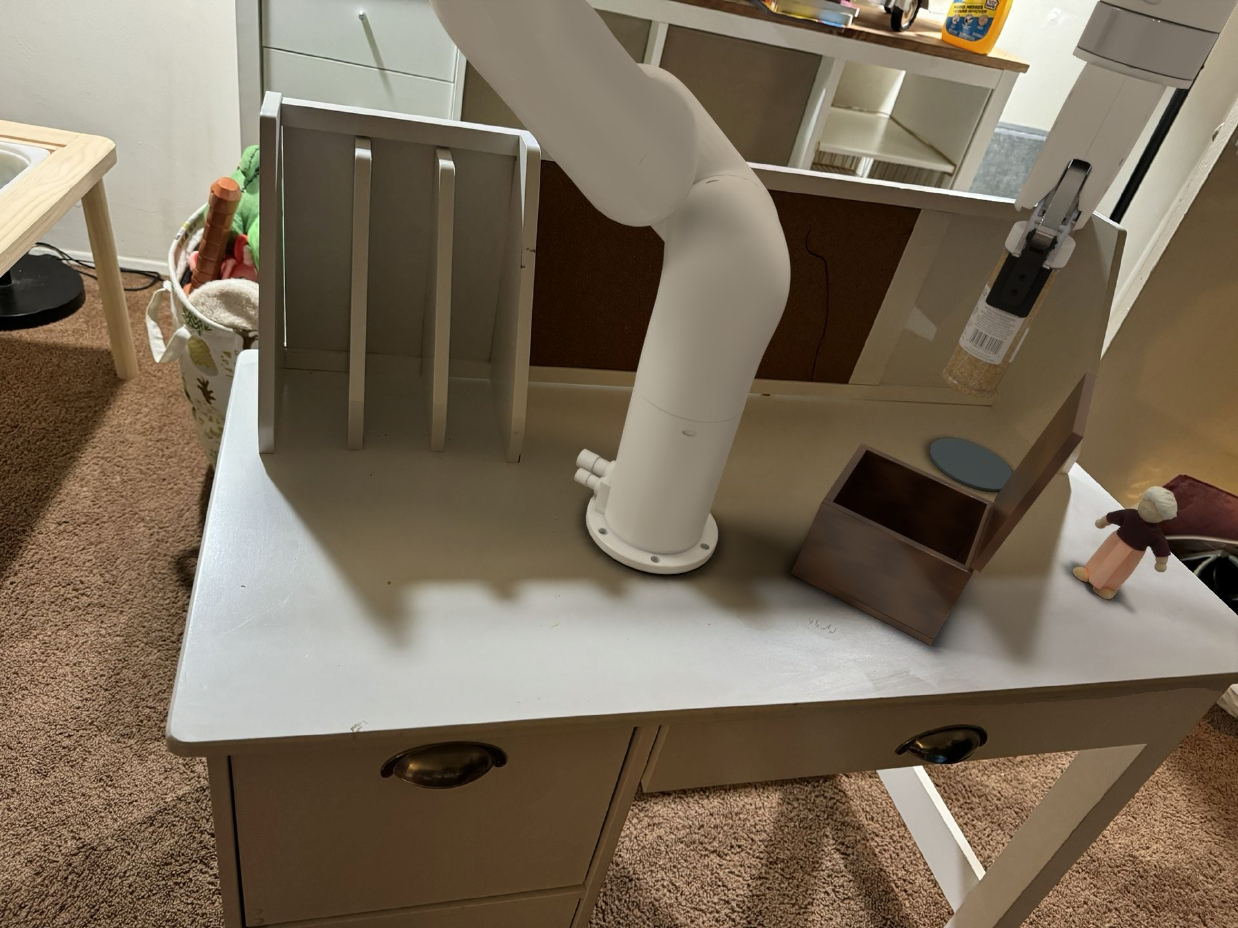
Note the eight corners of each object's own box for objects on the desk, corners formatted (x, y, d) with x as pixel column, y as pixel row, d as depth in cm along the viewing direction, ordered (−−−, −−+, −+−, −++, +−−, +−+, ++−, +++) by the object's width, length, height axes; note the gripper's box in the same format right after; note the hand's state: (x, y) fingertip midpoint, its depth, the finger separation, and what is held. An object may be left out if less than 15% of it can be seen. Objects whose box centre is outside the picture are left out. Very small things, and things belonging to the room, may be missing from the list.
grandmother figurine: (1056, 569, 90) (1121, 473, 83) (1072, 557, 92) (1136, 463, 85) (1127, 618, 86) (1202, 521, 78) (1142, 604, 88) (1216, 508, 81)
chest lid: (1072, 431, 63) (1084, 437, 63) (1086, 370, 72) (1096, 375, 72) (970, 567, 72) (980, 572, 71) (995, 497, 81) (1003, 501, 81)
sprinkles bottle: (1005, 396, 71) (1089, 242, 63) (972, 404, 69) (1056, 245, 61) (961, 367, 74) (1037, 217, 66) (928, 374, 71) (1003, 219, 64)
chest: (790, 573, 81) (821, 501, 76) (831, 510, 91) (861, 442, 85) (930, 645, 77) (972, 574, 72) (957, 571, 86) (997, 503, 81)
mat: (920, 465, 101) (922, 462, 101) (938, 430, 109) (940, 428, 109) (1005, 503, 98) (1006, 500, 98) (1017, 465, 106) (1019, 462, 106)
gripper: (1092, 26, 64) (981, 255, 74) (1071, 38, 51) (941, 313, 62) (1199, 56, 62) (1069, 288, 72) (1205, 77, 49) (1046, 356, 59)
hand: (1011, 297), depth 67 cm, fingers closed on sprinkles bottle, 4 cm apart
